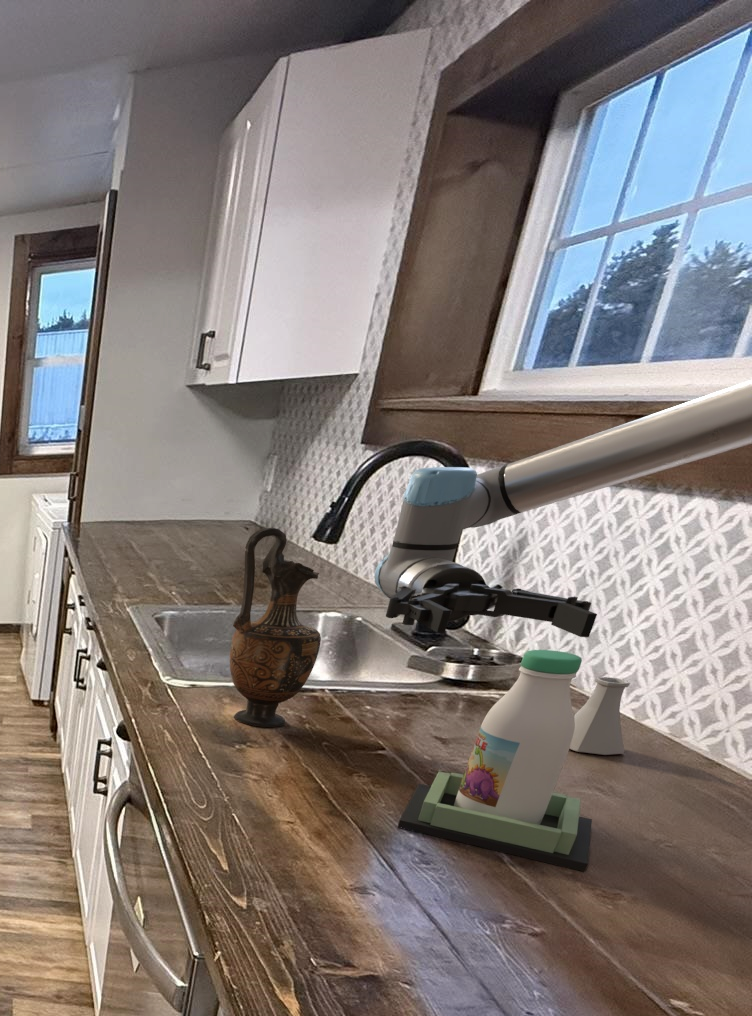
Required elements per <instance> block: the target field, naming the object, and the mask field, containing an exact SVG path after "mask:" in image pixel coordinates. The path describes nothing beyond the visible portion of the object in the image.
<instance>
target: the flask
mask: <svg viewBox="0 0 752 1016" xmlns="http://www.w3.org/2000/svg"><path fill="white" fill-rule="evenodd" d="M595 682H596V685H595V688H594V690H593V692H592V694H591V695H590V697H589V698H588V699H587V701H586V702H585V704H584V705H583V706H582V707H581V708H579V710H578V711H577V712H576V713H574V718H575V729H574V734H573V738H572V741H571V745H570V748H569V750H572V751H575V752H577V753H578V752H579V753H588V754H593V755H594V754H596V755H603V756H607V755H623V754H625V746H624V740H623V732H622V723H621V721H622V720H621V710H620V709H621V702H622V696H623V693H624V691H625V689H626V688H628V687H630V684H631V683H630V682H629V681H628V680H626V679H622V678H617V677H609V676H600V677H598V676H597V677H596V678H595Z"/></svg>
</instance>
